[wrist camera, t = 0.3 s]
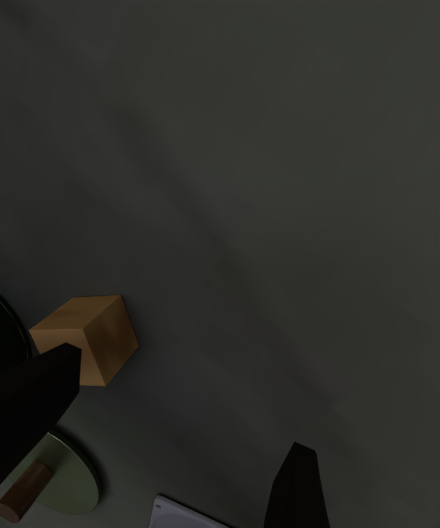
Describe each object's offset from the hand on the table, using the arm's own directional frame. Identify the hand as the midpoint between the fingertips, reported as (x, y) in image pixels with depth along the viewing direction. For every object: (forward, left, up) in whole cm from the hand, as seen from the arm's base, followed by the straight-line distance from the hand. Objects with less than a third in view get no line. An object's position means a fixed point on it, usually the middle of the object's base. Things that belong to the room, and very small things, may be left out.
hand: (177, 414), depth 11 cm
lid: (-26, +14, -9) cm, 31 cm away
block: (-7, +9, -10) cm, 15 cm away
